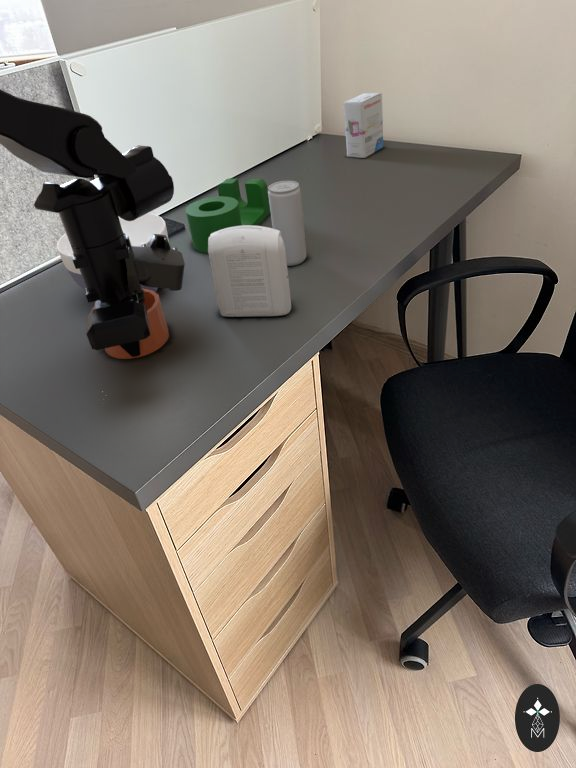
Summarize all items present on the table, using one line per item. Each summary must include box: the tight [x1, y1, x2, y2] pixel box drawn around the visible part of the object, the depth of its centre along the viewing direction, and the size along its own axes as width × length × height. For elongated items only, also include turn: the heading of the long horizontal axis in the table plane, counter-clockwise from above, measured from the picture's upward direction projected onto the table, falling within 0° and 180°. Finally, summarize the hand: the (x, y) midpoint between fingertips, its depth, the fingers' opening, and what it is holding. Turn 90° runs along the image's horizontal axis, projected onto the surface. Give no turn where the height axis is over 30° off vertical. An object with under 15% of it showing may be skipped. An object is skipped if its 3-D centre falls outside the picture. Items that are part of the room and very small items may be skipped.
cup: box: [91, 288, 170, 360], centre depth 76 cm, size 9×9×6 cm
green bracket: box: [185, 177, 271, 254], centre depth 102 cm, size 18×9×6 cm, turn 160°
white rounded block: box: [207, 225, 292, 318], centre depth 76 cm, size 10×4×12 cm, turn 83°
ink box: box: [343, 92, 384, 159], centre depth 128 cm, size 9×5×12 cm, turn 141°
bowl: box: [56, 212, 170, 293], centre depth 86 cm, size 16×16×10 cm
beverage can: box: [267, 180, 307, 267], centre depth 88 cm, size 5×5×12 cm
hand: (136, 355), depth 71 cm, fingers closed
